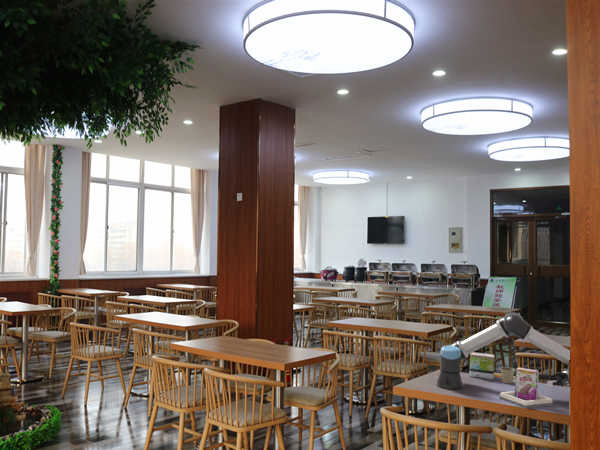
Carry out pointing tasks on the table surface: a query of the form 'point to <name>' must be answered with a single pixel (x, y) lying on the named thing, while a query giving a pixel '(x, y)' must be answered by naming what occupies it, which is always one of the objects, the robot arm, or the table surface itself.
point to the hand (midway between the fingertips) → (537, 380)
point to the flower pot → (507, 374)
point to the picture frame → (525, 403)
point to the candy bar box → (526, 384)
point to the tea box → (482, 365)
